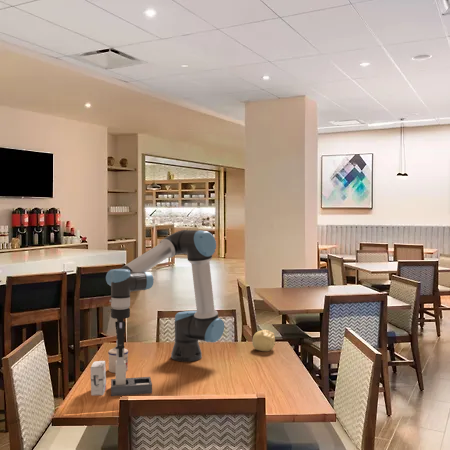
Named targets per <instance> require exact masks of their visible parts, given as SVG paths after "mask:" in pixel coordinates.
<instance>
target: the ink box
mask: <svg viewBox="0 0 450 450" xmlns="http://www.w3.org/2000/svg"><path fill="white" fill-rule="evenodd" d="M106 370H107V369H106V360H98V361H97V360H96V361H95V360H94V361H93V363H92V364H91V366H90V395H91V396H104V395H105V392H106V391H107V376H106V375H107V374H106V373H107V371H106Z"/></svg>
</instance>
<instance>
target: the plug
mask: <svg viewBox="0 0 450 450" xmlns="http://www.w3.org/2000/svg"><path fill="white" fill-rule="evenodd" d="M115 362H116V373H115V379H116V385H126V378H127V371H126V360H124V365H117V361H115Z"/></svg>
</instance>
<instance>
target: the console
mask: <svg viewBox="0 0 450 450" xmlns="http://www.w3.org/2000/svg"><path fill="white" fill-rule="evenodd" d="M110 391H111V393H110V397H118V396H119V397H120V396H133V395H147V394H153V382H152V379H151V376H144V377H143V376H141V377H126V385H116V378H111V379H110Z"/></svg>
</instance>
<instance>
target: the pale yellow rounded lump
mask: <svg viewBox="0 0 450 450" xmlns="http://www.w3.org/2000/svg"><path fill="white" fill-rule="evenodd" d="M275 344H276V338H275V333H274V332H272V331H271V330H268V329H263V330H262V329H261V330H258V331H256V332H255V333H254V335H253V337H252V346H253V348H254V349H255V350H256V351H259V352H260V351H262V352H270V351H272V350H273V348H274V347H275Z"/></svg>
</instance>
